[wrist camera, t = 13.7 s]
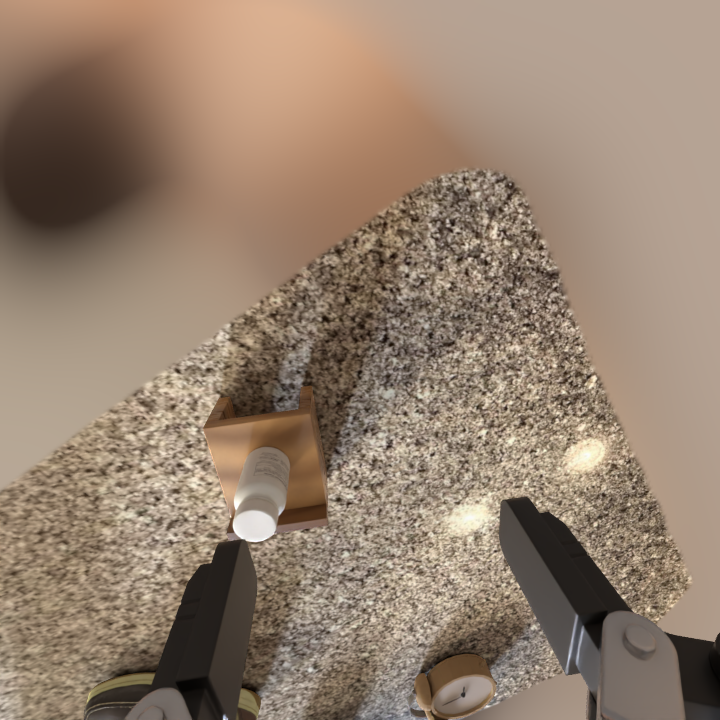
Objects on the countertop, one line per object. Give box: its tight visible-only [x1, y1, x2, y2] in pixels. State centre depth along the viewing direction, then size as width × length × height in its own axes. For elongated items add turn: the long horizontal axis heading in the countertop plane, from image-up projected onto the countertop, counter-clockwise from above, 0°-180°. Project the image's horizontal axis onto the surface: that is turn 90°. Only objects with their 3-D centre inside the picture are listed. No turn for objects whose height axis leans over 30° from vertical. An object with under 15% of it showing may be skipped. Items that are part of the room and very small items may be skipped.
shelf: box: [203, 386, 328, 540], centre depth 39 cm, size 12×10×8 cm
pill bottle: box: [233, 447, 290, 542], centre depth 33 cm, size 4×4×8 cm
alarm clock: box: [407, 654, 497, 720], centre depth 62 cm, size 11×5×15 cm
